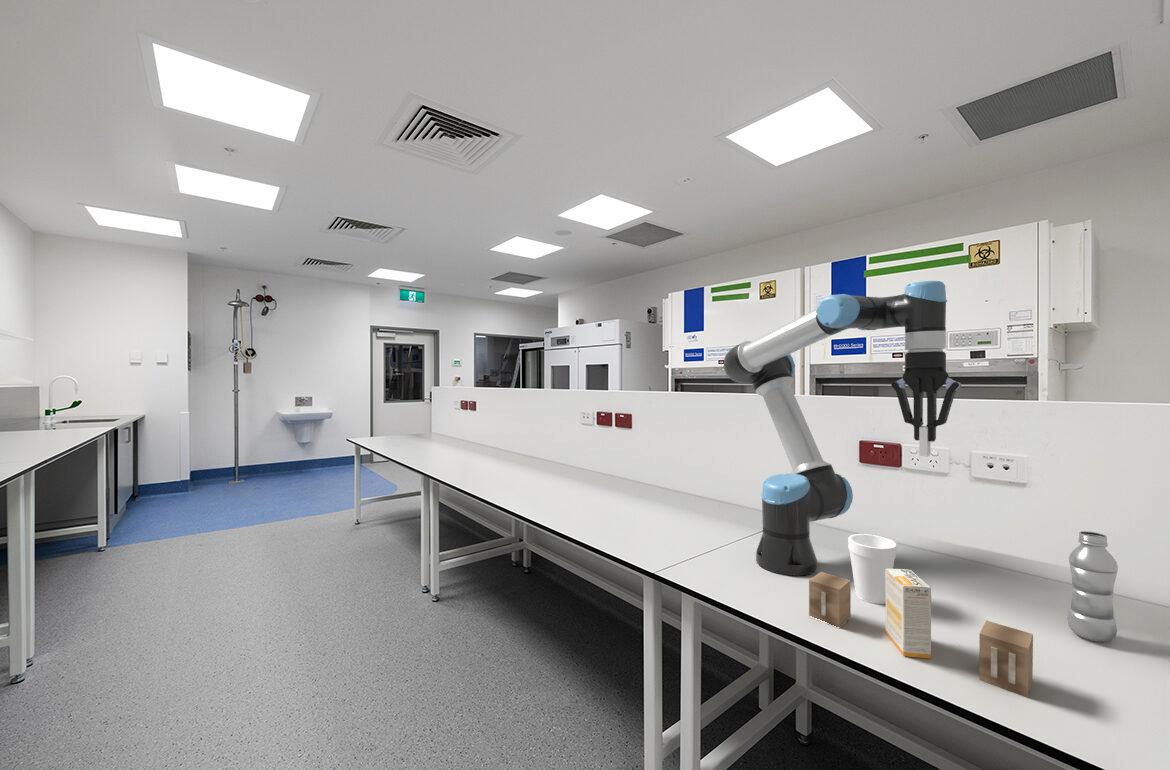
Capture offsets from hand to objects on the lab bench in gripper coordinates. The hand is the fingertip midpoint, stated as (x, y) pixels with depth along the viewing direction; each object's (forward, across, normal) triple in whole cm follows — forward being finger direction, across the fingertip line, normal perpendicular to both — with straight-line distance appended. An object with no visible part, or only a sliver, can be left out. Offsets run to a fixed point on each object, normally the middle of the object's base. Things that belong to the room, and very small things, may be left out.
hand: (924, 455), depth 107 cm
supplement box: (+33, -3, +25) cm, 41 cm away
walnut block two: (+33, -17, +25) cm, 44 cm away
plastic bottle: (+33, -26, -3) cm, 42 cm away
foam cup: (+33, +8, +9) cm, 35 cm away
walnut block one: (+33, +11, +25) cm, 42 cm away
